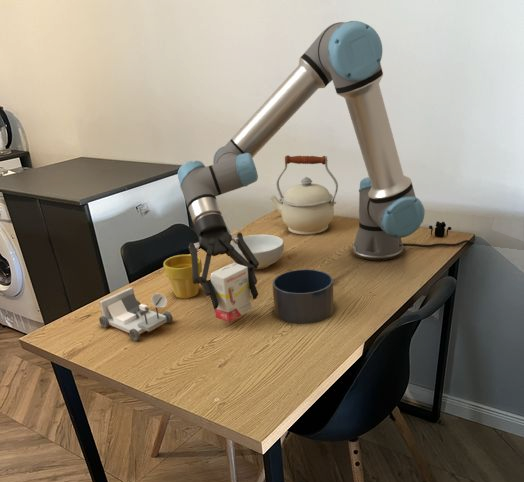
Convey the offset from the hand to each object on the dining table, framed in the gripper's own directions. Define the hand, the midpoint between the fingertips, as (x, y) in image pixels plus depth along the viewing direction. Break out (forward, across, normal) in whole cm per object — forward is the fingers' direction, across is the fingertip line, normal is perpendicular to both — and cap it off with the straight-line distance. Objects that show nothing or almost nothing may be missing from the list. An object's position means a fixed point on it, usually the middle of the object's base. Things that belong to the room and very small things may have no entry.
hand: (236, 301), depth 132 cm
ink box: (+1, 0, -6) cm, 6 cm away
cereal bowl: (-20, -19, -30) cm, 40 cm away
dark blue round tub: (+5, -18, -5) cm, 19 cm away
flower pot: (-14, +6, -23) cm, 28 cm away
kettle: (-36, -46, -46) cm, 74 cm away
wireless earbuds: (-12, -79, -23) cm, 83 cm away
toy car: (-4, +22, -14) cm, 27 cm away
